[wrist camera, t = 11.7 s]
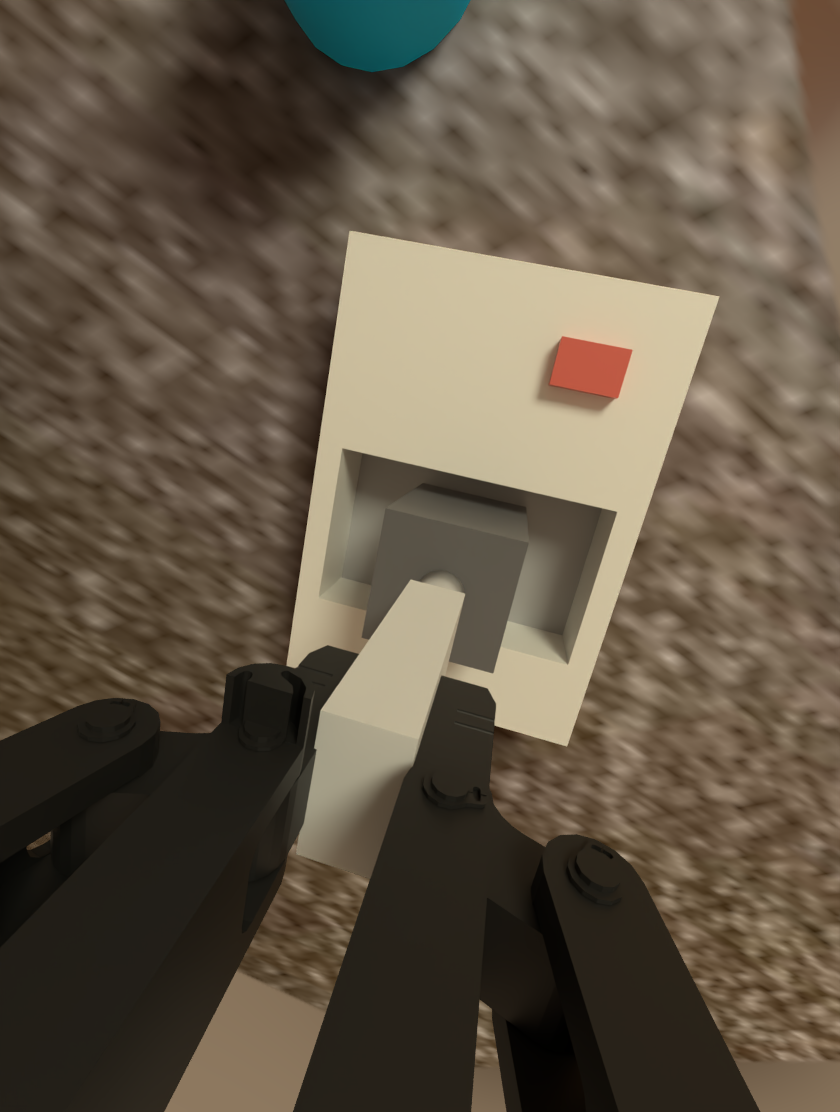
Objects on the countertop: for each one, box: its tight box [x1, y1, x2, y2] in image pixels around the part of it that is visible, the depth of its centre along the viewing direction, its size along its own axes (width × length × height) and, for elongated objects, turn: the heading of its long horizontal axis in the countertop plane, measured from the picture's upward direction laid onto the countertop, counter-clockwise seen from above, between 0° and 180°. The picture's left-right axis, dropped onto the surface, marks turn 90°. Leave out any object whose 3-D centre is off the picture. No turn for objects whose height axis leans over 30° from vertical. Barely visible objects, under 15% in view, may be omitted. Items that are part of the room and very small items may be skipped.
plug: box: [362, 483, 529, 673], centre depth 20 cm, size 5×5×9 cm
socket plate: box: [287, 231, 719, 746], centre depth 22 cm, size 13×18×4 cm
